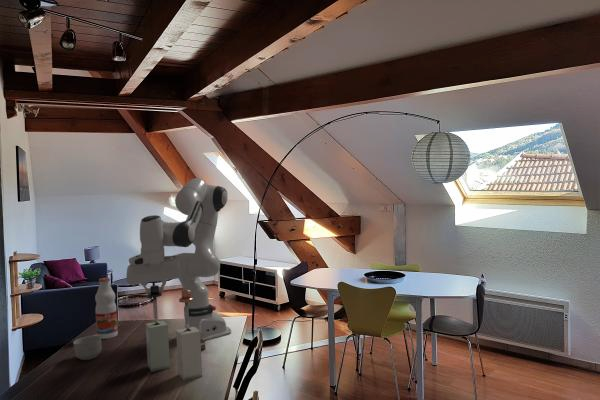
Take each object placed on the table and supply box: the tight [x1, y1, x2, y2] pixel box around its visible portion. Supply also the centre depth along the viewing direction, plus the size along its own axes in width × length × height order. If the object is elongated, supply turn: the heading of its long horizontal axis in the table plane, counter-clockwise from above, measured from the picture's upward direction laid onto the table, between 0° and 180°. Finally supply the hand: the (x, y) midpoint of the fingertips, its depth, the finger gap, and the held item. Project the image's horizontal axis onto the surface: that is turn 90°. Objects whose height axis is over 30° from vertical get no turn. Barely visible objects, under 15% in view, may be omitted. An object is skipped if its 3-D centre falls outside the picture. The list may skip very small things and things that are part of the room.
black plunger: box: [147, 284, 163, 325], centre depth 192 cm, size 5×5×18 cm
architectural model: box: [200, 333, 207, 351], centre depth 209 cm, size 3×7×7 cm, turn 119°
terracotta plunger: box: [178, 289, 194, 332], centre depth 182 cm, size 5×5×18 cm
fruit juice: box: [94, 277, 119, 340], centre depth 236 cm, size 9×9×28 cm
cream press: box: [175, 327, 203, 382], centre depth 182 cm, size 7×7×17 cm
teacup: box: [72, 334, 103, 361], centre depth 208 cm, size 14×11×8 cm
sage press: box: [145, 320, 171, 373], centre depth 192 cm, size 7×7×17 cm
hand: (154, 292), depth 192 cm, fingers open, 4 cm apart
